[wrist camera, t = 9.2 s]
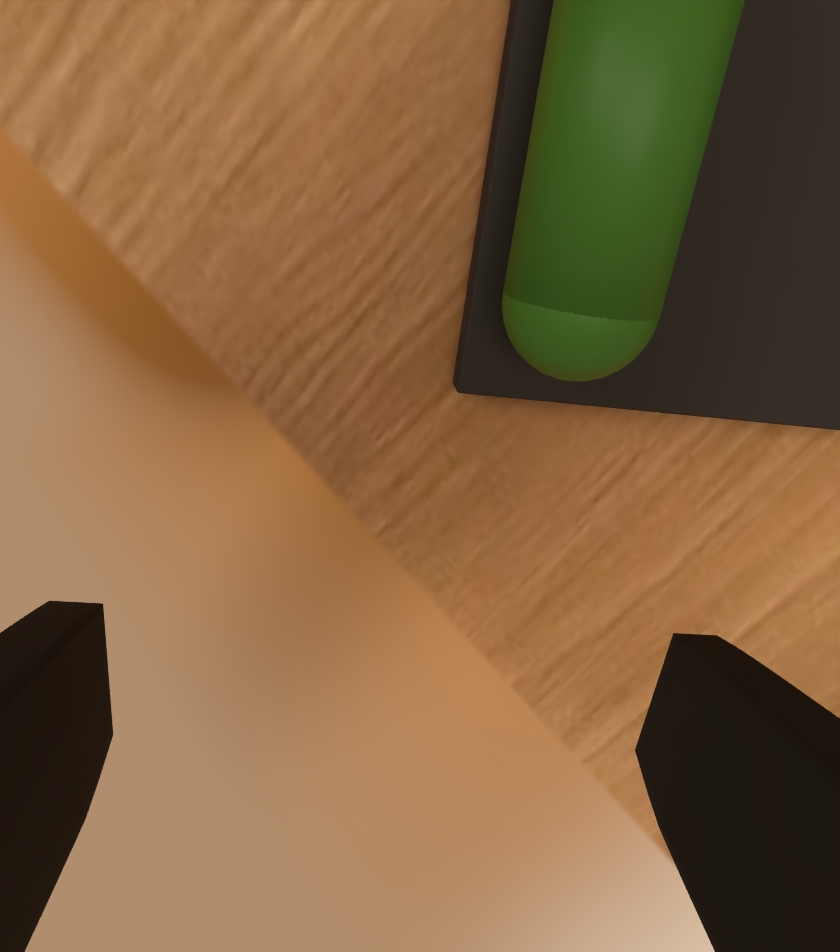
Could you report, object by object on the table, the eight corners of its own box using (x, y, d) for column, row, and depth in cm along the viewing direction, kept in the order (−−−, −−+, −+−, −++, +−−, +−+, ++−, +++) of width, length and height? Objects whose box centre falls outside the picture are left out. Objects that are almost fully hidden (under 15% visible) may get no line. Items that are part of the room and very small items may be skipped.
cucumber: (593, 362, 16) (670, 405, 14) (469, 354, 15) (525, 399, 13) (717, -169, 12) (862, -261, 10) (561, -223, 12) (673, -341, 9)
